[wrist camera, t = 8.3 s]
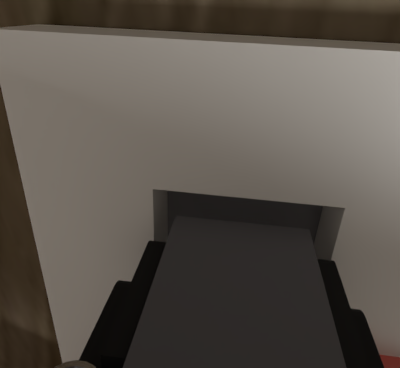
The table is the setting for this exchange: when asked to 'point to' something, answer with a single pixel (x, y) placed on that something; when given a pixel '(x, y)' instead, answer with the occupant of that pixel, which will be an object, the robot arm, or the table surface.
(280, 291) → the plug
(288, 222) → the socket plate
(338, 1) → the table surface
